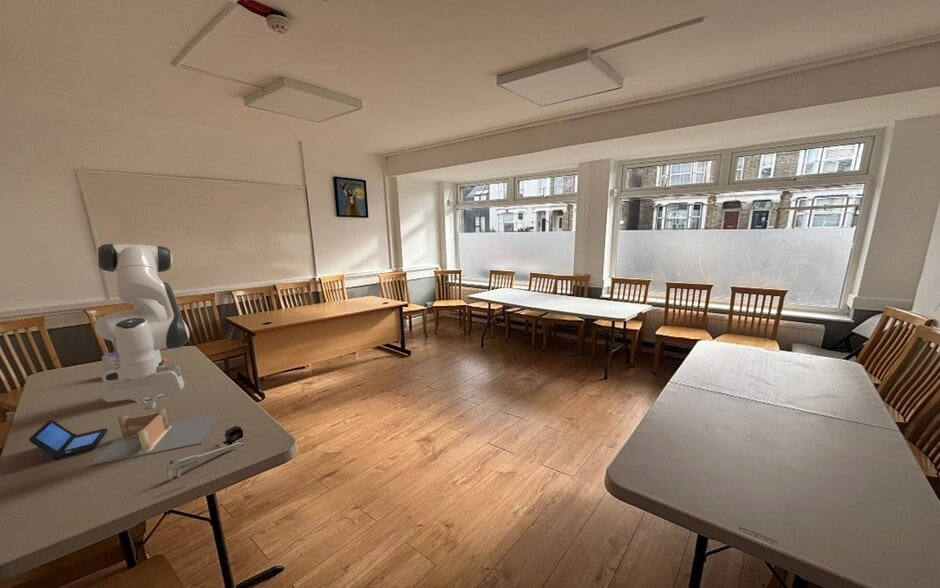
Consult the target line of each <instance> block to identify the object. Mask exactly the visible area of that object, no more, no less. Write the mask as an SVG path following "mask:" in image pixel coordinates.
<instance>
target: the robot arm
mask: <svg viewBox="0 0 940 588" xmlns="http://www.w3.org/2000/svg"><path fill="white" fill-rule="evenodd" d="M94 254H95V255H94V260H95V262H96V264H97V266H98V268H100V269H101V270H102V271H106V272H110V273H114V272H116V282H117V285H116V287H117V296H118V298H119V300H121V301H122V302H123V303H126V304H129V305H134V308H132V309H129V310H122V311H117V312H112V313H109V314H106V315H103V316H101V317H98V319H97V320H96V322H95V324H94V329H95V330H94V331H95V332H96V334H97V335H98V336H99V337H101V338H102V339H104V340H107V341H111V342H112V343H114V346H115V349H116V350H115V351H118V353H119V355H120V366H119V367H117V368H114V369H112V370H110V371H109V372H107V373H105V372H104V374H102V376H101V380H102V381H103V383H102V385H101V395H102V398H103V400H104V401H105V402H107V403H114V402H119V401H125V400H127V401H128V400H130V401H132V402H136V403H138V404H139V405H140V406H141V409H142V411H145V410H149V409H150V410H151V409H154V408H156V401H157V399H158V398H159V397H162V396H165V395H168V394H174V393H178V392H180V391H181V390H183V388H184V387H185V382H184V379H183V376H182V369H181V367H180V366H179V365H175V364H170V365H165V364H166V363H167V358H162V356H161V355H162V354H161V351H160V350H166V349H168V350H169V349H179V348H182V347H184V345H186V343H187V342H189V340H190V330H189V327H188V325H187V324H186V322H185V320H184V319H183V316H182V312H181V309H180V307H179V304H178V301H177V299H176V296H175V294H174V291H173V289H172V286H171V285H170V284H169V283H168V282H165V281H163V280H162V279H161V278H160V277H159V273H164V272H167V271H168V270H170V269H171V268H172V265H173V263H174V257H173V254H172V253H171V251H170V249H169V248H168V247H166V246H162V245H157V246H155V245H148V244H143V243H142V244H139V243H136V244H132V243H131V244H129V243H128V244H127V243H124V244H123V243H120V244H118V243H117V244H113V243H104V244H102V245H100V246H98V248H97V249H96V252H95V253H94ZM148 400H150V401H148Z"/></svg>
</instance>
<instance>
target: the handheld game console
mask: <svg viewBox="0 0 940 588" xmlns="http://www.w3.org/2000/svg"><path fill="white" fill-rule="evenodd" d="M107 432H108V428H102V429H101V428H100V429H97V430H92V431H88V432H84V433H83V432H82V433H80V434H79V433H78V434H77V433H73V432H72V431H70V430H69V429H66V428H65V427H64V426H63V425H61V424H60V423H58V422H56V421H54V420H52V419H51V420H48V421H47V422H46V423H45V424H43V425H42V427H40V428H39V429H38V430H37V431H35V433H33V435H31V436H30V437H29V439H28V441H29V443H31V444H32V445H34V446H35V447H37V448H39V449H40V450H42V451H44V452H46V453H47V454H49V455H50V456H52V457H53V461H58V460H61V458H62V459H65V457H66V458H68V457H69V456H70V457H72V456H73V455H74V456H77V454H78V455H81V453H82V454H85V452H86V453H89V452H92V451H93V450H95V449H96V448H97V446H98V445H99V444H100V442H101V441H102V439H103V438H104V437H105V436H106V434H107ZM91 450H92V451H91ZM88 451H89V452H88ZM57 459H58V460H57Z"/></svg>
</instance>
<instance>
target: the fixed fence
mask: <svg viewBox="0 0 940 588" xmlns="http://www.w3.org/2000/svg"><path fill="white" fill-rule="evenodd" d="M157 415H162V418H163V423H164V428H165V430H167V429H169V424H168V423H169V419H168V413H167V411H166V408H161V409H160V408H159V409H158V410H156V412H152V413H146V414H140V415H134V416H130V417H129V415H128V414H125V415H120V416H119V417H117V419H118V423H119V427H120V431H121V435H122V436H123V438H127V437H130V436H134V435H139V434H138V432H139V431H141V430H143V429H144V428H145V427H146V426H147V425H148V424H149V423H150V422H151V421H152V420H153V419H154V418H155V417H156V416H157Z"/></svg>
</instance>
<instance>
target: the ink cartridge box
mask: <svg viewBox="0 0 940 588" xmlns="http://www.w3.org/2000/svg"><path fill="white" fill-rule="evenodd" d="M101 359H102V364H103V367H104V368H103V370H104V374H105V373H107V372H109V371H110V370H112V369H114V368H117V367H119V366H120V355H119V353H118V351H117V350H116V348H113V350H112V352H110V353H107V354H104V355H101Z"/></svg>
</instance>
